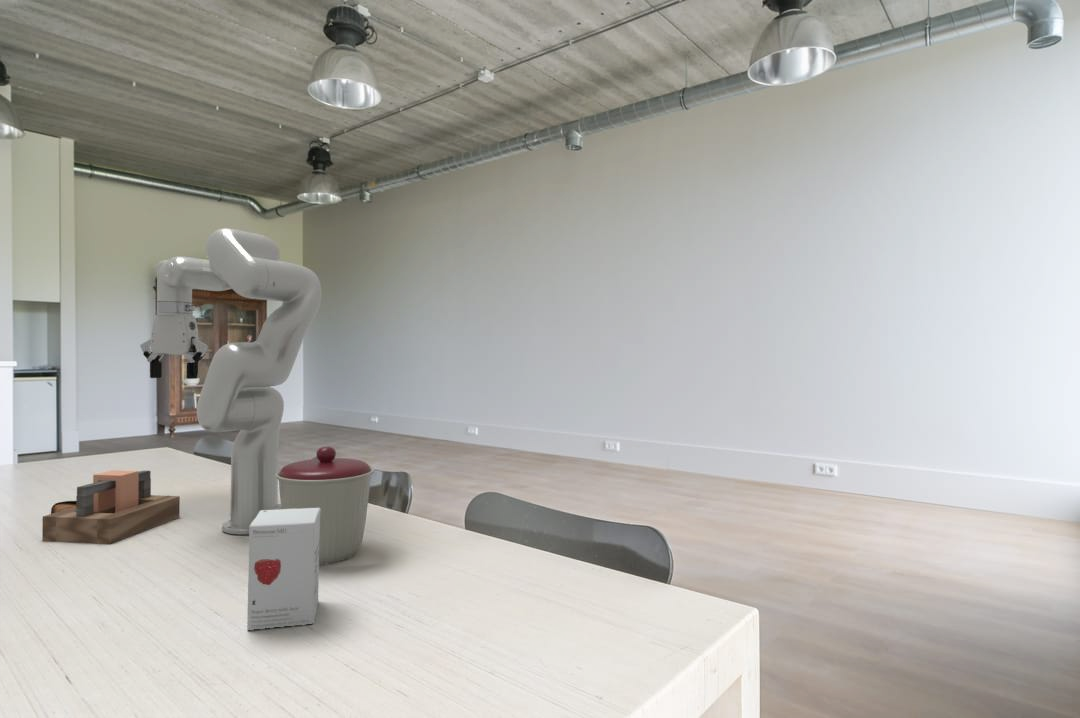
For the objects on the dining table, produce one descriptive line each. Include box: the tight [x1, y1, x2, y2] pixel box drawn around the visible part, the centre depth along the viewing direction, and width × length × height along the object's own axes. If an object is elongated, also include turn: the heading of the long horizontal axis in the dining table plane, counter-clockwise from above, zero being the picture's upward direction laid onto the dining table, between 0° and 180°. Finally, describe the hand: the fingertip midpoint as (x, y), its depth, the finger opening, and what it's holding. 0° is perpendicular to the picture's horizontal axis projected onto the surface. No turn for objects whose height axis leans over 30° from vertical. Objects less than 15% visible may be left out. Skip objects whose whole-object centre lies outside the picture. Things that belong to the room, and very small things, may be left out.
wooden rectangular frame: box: [41, 470, 181, 545], centre depth 131 cm, size 15×20×11 cm
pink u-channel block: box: [92, 469, 140, 513], centre depth 131 cm, size 6×5×8 cm
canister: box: [275, 446, 376, 565], centre depth 115 cm, size 18×18×21 cm
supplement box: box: [246, 508, 321, 631], centre depth 89 cm, size 9×9×15 cm
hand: (173, 378), depth 150 cm, fingers open, 9 cm apart
